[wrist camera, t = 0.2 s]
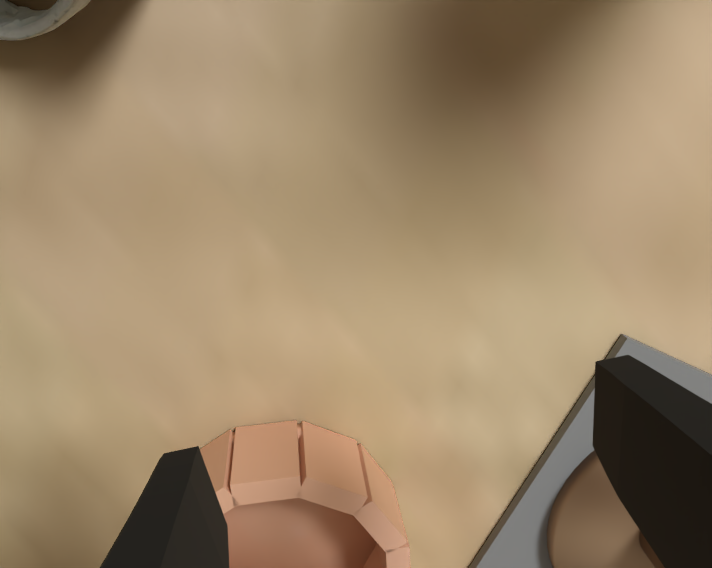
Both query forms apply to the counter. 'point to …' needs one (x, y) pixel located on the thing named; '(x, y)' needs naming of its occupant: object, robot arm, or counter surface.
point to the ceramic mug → (35, 18)
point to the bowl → (304, 499)
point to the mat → (568, 466)
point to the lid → (594, 525)
